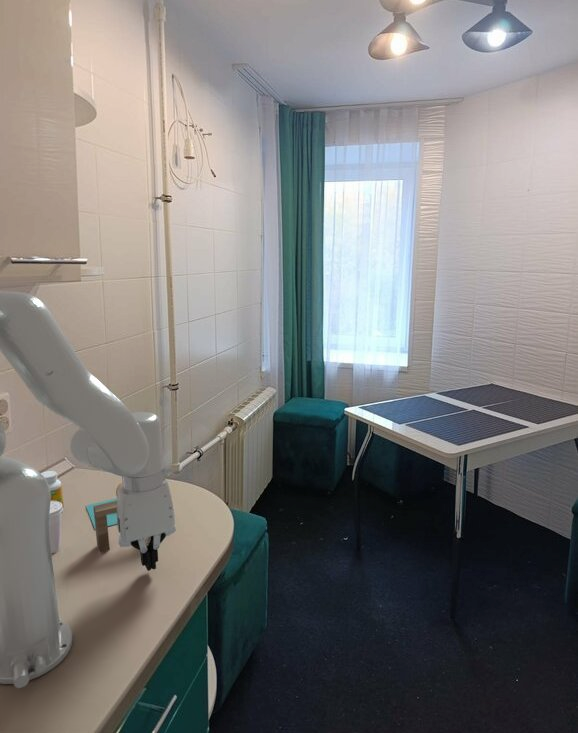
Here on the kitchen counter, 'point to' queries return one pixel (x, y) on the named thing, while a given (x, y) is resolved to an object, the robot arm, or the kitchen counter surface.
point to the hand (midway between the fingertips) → (150, 566)
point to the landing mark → (110, 518)
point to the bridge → (103, 523)
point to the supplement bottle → (54, 486)
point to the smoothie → (55, 525)
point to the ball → (118, 487)
